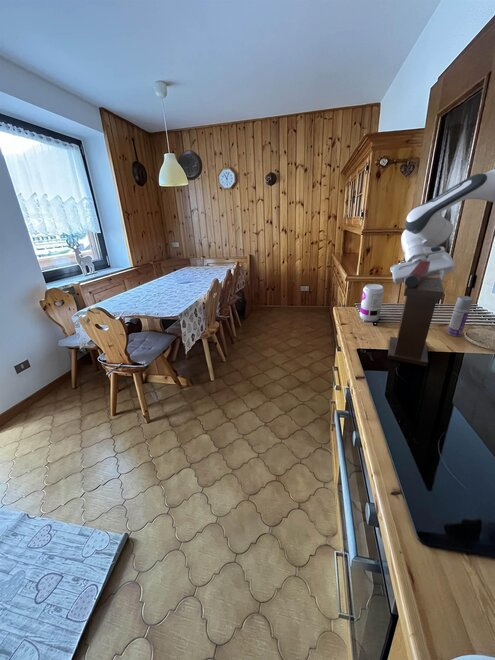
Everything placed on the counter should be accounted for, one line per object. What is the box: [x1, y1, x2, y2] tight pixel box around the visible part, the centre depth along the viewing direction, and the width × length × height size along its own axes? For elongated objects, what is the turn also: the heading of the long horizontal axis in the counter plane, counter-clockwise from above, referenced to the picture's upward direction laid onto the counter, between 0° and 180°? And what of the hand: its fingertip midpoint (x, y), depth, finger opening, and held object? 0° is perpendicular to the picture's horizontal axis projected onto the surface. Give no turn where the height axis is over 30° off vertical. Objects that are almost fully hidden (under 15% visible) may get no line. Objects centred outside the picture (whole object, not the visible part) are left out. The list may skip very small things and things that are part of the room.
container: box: [446, 295, 474, 337], centre depth 108 cm, size 5×5×15 cm
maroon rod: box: [404, 261, 430, 288], centre depth 93 cm, size 22×4×4 cm, turn 141°
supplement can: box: [359, 283, 385, 323], centre depth 124 cm, size 8×8×15 cm
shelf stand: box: [386, 276, 445, 367], centre depth 96 cm, size 14×12×26 cm
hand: (425, 285), depth 104 cm, fingers open, 8 cm apart
